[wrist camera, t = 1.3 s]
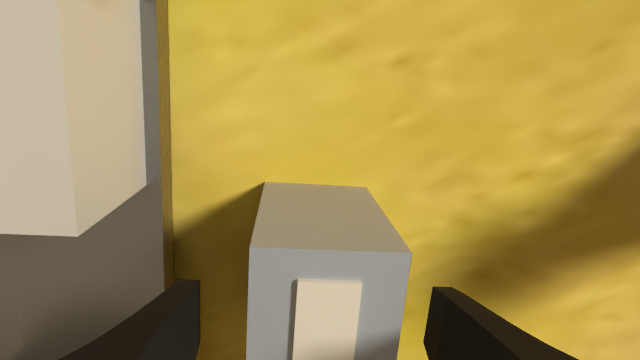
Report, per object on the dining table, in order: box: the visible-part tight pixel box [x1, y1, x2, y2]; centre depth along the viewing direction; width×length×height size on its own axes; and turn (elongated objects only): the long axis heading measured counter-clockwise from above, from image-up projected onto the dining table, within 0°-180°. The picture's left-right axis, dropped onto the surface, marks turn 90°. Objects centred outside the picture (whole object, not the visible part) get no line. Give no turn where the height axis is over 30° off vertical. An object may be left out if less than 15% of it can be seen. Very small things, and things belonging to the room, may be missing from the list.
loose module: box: [246, 182, 412, 360], centre depth 13 cm, size 6×4×6 cm, turn 176°
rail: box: [0, 0, 174, 360], centre depth 14 cm, size 22×8×2 cm, turn 176°
